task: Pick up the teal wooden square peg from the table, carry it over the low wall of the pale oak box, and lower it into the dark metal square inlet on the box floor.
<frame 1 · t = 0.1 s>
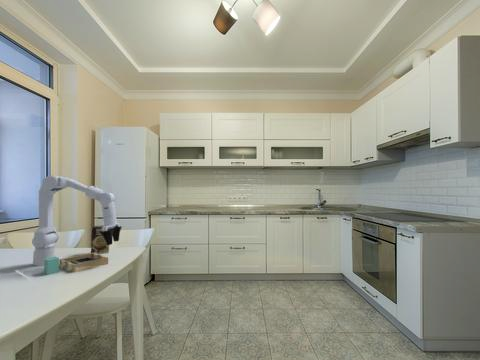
hand: (113, 242, 119), 11 cm above the table, tool pointing down, fingers open, 7 cm apart
oak box: (83, 266, 113), on the table
teal peg: (51, 274, 103), on the table
coffee box: (100, 254, 136), on the table
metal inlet: (84, 265, 113), resting on oak box
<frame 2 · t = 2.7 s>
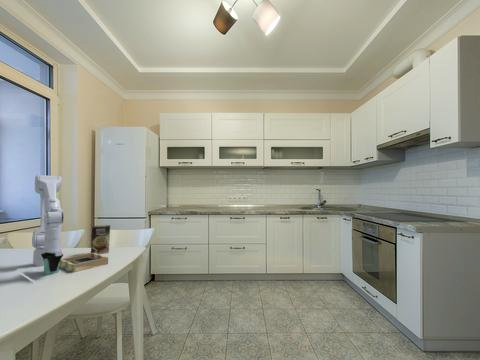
hand: (51, 270, 103), 2 cm above the table, tool pointing down, fingers closed on teal peg, 4 cm apart
teal peg: (51, 274, 103), on the table, touching gripper
everything else where it was.
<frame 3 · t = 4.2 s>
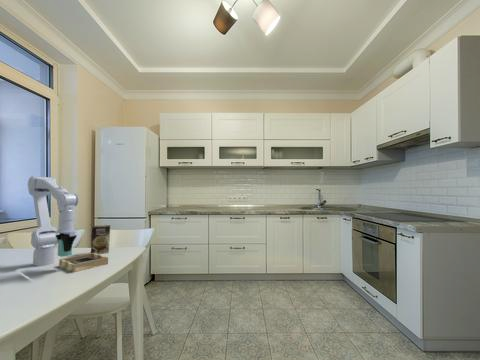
hand: (65, 250, 107), 9 cm above the table, tool pointing down, fingers closed on teal peg, 4 cm apart
teal peg: (64, 255, 107), point 7 cm above the table, touching gripper
everything else where it was.
when the fingers open (4 cm above the table, at t = 5.9 s): teal peg drops 1 cm, resting on oak box.
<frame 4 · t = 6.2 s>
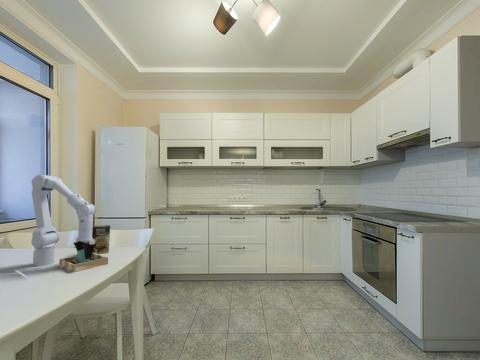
hand: (84, 257, 114), 4 cm above the table, tool pointing down, fingers open, 7 cm apart
teal peg: (83, 265, 113), point 1 cm above the table, touching oak box
everything else where it was.
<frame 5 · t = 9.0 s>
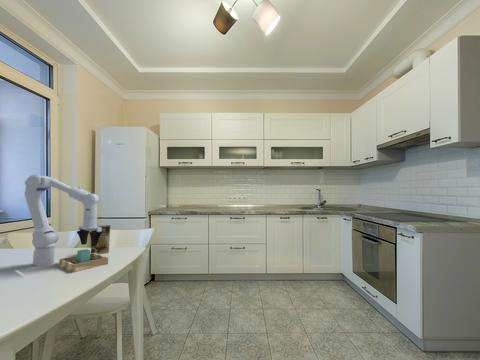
hand: (89, 245, 118), 9 cm above the table, tool pointing down, fingers open, 7 cm apart
nothing on the table moved.
at the end: teal peg 0.3 cm off-centre on the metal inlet, point 0.0 cm above the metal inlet's base; teal peg tilted 0°; the gripper is holding nothing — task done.
